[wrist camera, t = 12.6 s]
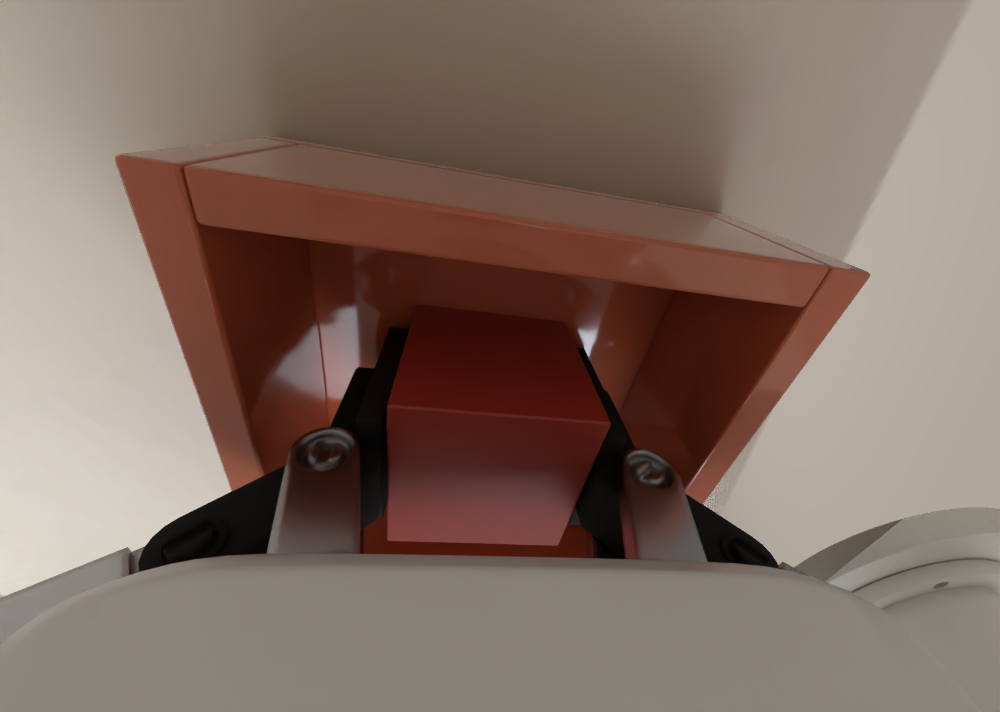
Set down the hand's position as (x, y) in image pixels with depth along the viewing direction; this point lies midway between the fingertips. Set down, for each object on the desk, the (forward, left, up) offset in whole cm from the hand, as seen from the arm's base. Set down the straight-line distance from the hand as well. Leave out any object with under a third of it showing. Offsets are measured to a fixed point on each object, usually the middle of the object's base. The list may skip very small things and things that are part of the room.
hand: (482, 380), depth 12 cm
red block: (0, 0, 0) cm, 0 cm away
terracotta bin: (0, 0, -1) cm, 1 cm away
